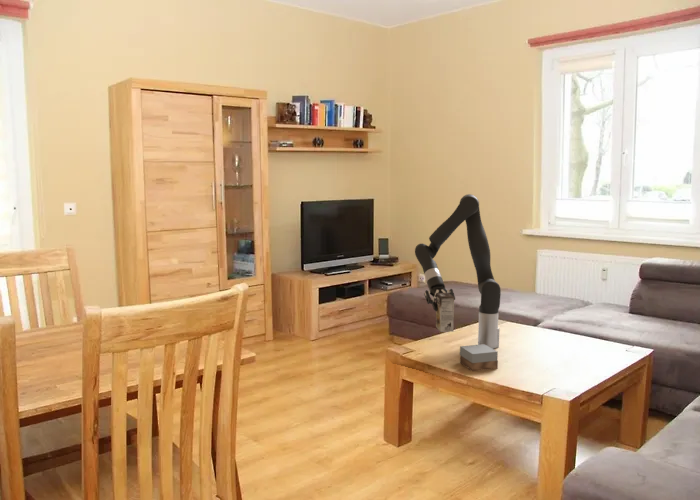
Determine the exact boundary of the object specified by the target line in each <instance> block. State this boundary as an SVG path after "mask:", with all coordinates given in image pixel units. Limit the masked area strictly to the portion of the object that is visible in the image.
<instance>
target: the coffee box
mask: <svg viewBox="0 0 700 500" xmlns="http://www.w3.org/2000/svg"><path fill="white" fill-rule="evenodd" d="M435 302H436V304H437V307H438V310H437V311H435V327H436V329H438V331H439V332H441V333H443V332H444V333H447V332H449V333H450V332H454V322H455V320H454V319H455V317H454V316H455V300H454V297H453V296H452V295H451V294H450V293H436V301H435Z"/></svg>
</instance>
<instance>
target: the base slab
mask: <svg viewBox="0 0 700 500" xmlns="http://www.w3.org/2000/svg"><path fill="white" fill-rule="evenodd" d="M459 356H460V357H459V363H460V364H461V365H463V366H464V367H466V368H467V369H468V370H470V371H472V372H475V371H488V370H497V369H498V368H499V367H498V366H499V361H498V359H497V361H488V362H478V363H472V362H470V361H468V360H467V359H465V358H464V357H462V356H461V355H460V354H459Z"/></svg>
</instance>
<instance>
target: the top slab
mask: <svg viewBox="0 0 700 500" xmlns="http://www.w3.org/2000/svg"><path fill="white" fill-rule="evenodd" d="M498 354H499V353H498V351H497V350H495V348H493V349H492V348H490V347H488V346H487V345H485V344H480V345H478V344H472V345H460V346H459V356H460V355H461V356H462V357H464V358H465V359H467V360H468V361H470V362H472V363H478V362H488V361H497V360H498V357H499V356H498Z"/></svg>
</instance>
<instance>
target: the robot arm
mask: <svg viewBox="0 0 700 500" xmlns="http://www.w3.org/2000/svg"><path fill="white" fill-rule="evenodd" d="M463 222H465V226H466V234H467V243H468V247H469V252H470V255H471V259H472V262H473V265H474V268H475V269H474V270H475V272H476V277H477V278H476V279H477V287H478V291H479V293H480V305H479V308H478V329H477V331H478V333H477V345H480V344H485V345H487V346H488V347H490V348H492V349H497V348H499V347H500V331H501V329H500V327H499V309H500V306H501V295H502V294H501V292H502V291H501V287H500V286H501V285H500V284H499V283H498V282H497V281H496V280H495V277H494V275H493V272H492V268H491V267H492V266H491V249H490V248H491V247H490V243H489V240H488V236H487V233H486V231H485V228H484V225H483V223H482V222H483V221H482V218H481V212H480V201H479V199H478V197H477V196H475V195H474V194H471V193H468V194H465V195H463V196H462V197H461V198H460V201H459V204H458V206H457V207H456V208H455V210H454V211H453V213H451V215H449V217H447V219H446V220H444V221H443V222H442V223H441V224H440V225H439V226H438V227H437V228H436V229H435V230H434V231H433V232H432V233H431V235H430V236H429V237H428V240H429V242H430V243H429V245H427V244H425V243H419V244H417V245H416V246H415V248H414V256H415V258H416V259H417V261H418V263H419V264H420V266H421V268H422V271H423V274H424V279H425V282H426V285H427V287H428V290H425V291H424V293H423V295H424V297H425V300H426V303H427V304H428V305H429V304H431V305H432V308H433V311H434V312H436V311H437V310H438V307H437V304H436V293H450V294H451V295H452V296H453V297H454V301H455V300H456V296H455V293H454V290H453V289H452V288H450V289H447V288H446V286H445V282H444V280H443V277H442V274H441V271H439V270H440V269H439V267H438V264H437V262H436V260H434V258H435V257H437V254H438V251H439V250H440V248H441V246H442V245H443V244H444V243H445V242H446V241H447V240H448V239H449V238H450V237H451V236H452V234H454V232H455V231H456V230H457V228H458V227H459V226H460V225H462V223H463ZM431 296H432V298H431Z"/></svg>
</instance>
